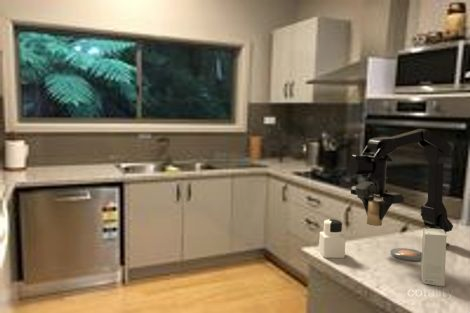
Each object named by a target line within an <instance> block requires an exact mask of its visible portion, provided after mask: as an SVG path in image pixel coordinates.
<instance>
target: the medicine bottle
mask: <svg viewBox="0 0 470 313" xmlns="http://www.w3.org/2000/svg"><path fill="white" fill-rule="evenodd" d="M342 230H343V222H342V221H340V220H339V219H338V220H337V219H334V218H333V219H332V218H329V219H325V220H324V221H323V231H319V241H318V251H319V252H320V253H319V254H321V256H322V257H323V259H345V256H346V237H345V236H344V234H342V233H343V232H342Z"/></svg>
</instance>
